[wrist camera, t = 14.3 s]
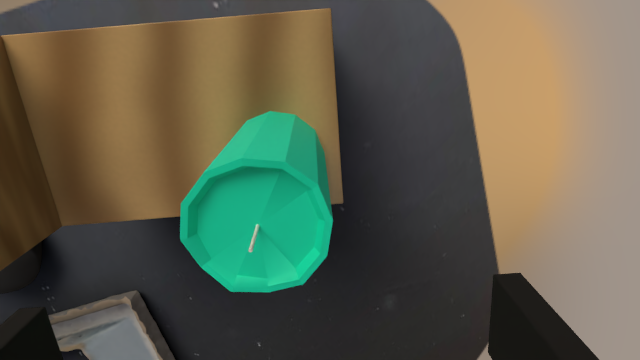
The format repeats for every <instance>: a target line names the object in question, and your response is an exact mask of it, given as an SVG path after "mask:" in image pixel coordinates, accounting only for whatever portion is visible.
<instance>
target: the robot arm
mask: <svg viewBox="0 0 640 360" xmlns="http://www.w3.org/2000/svg"><path fill="white" fill-rule="evenodd" d="M488 353H489V355H490V356H491V358H492V360H599V359H598V358H597V357H596V356H595V355H594V354H593V352H592V351H591V350H590V349H589V348H588V347H587V346H586V345H585V344H584V342H583V341H582V340H581V339H580V338H579V337H578V336H577V335H576V334H575V333H574V331H573V330H572V329H571V328H570V327H569V326H568V325H567V324H566V323H565V322H564V321H563V319H562V318H561V317H560V316H559V315H558V314H557V313H556V312H555V311H554V310H553V308H552V307H551V306H550V305H549V304H548V303H547V302H546V301H545V300H544V299H543V297H542V296H541V295H540V294H539V293H538V292H537V291H536V290H535V289H534V288H533V287H532V285H531V284H530V283H529V282H528V281H527V280H526V279H525V278H524V277H523V276H522V274H521V273H511V274H497V275H493V289H492V303H491V317H490V331H489V345H488ZM0 360H63V357H62V354H61V351H60V349H59V346H58V343H57V340H56V337H55V334H54V331H53V328H52V326H51V323H50V320H49V317H48V314H47V311H46V308H45V307H37V308H23V309H18V310H17V311H16V312H15V313H14V314H13V315H12V316H10V317H9V318H8V319H7V320H6V321H5V322H4V323H3V324H1V325H0Z"/></svg>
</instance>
